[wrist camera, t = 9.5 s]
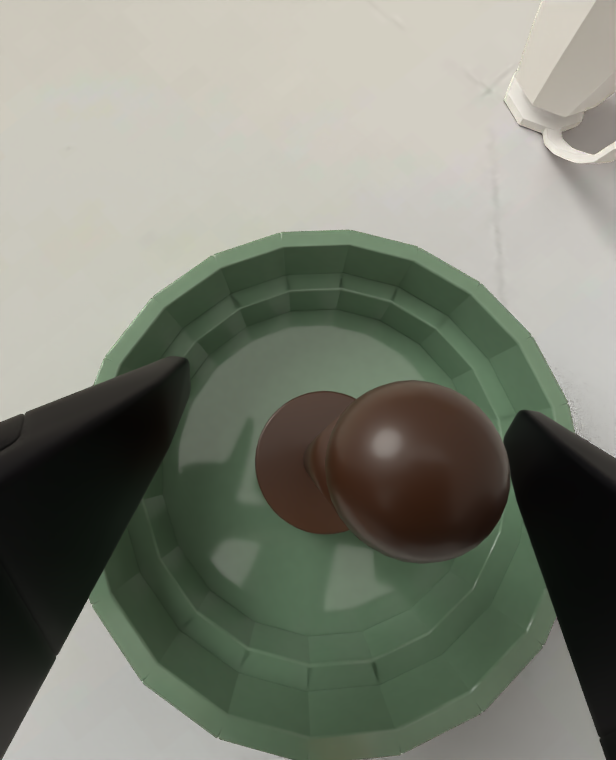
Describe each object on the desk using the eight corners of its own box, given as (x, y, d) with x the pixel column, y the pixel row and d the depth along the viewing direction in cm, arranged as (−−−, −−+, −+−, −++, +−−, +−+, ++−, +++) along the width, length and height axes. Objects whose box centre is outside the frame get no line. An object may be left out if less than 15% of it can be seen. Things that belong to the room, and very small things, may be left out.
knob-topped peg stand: (403, 495, 15) (950, 688, 2) (286, 546, 14) (225, 1123, 2) (354, 380, 15) (573, 99, 3) (242, 424, 15) (10, 278, 3)
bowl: (567, 566, 15) (682, 612, 10) (205, 739, 13) (159, 880, 9) (409, 246, 18) (447, 175, 13) (94, 356, 16) (17, 318, 11)
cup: (598, 51, 20) (788, -204, 12) (629, 210, 18) (882, 23, 10) (473, 46, 20) (588, -217, 12) (491, 206, 18) (642, 13, 10)
